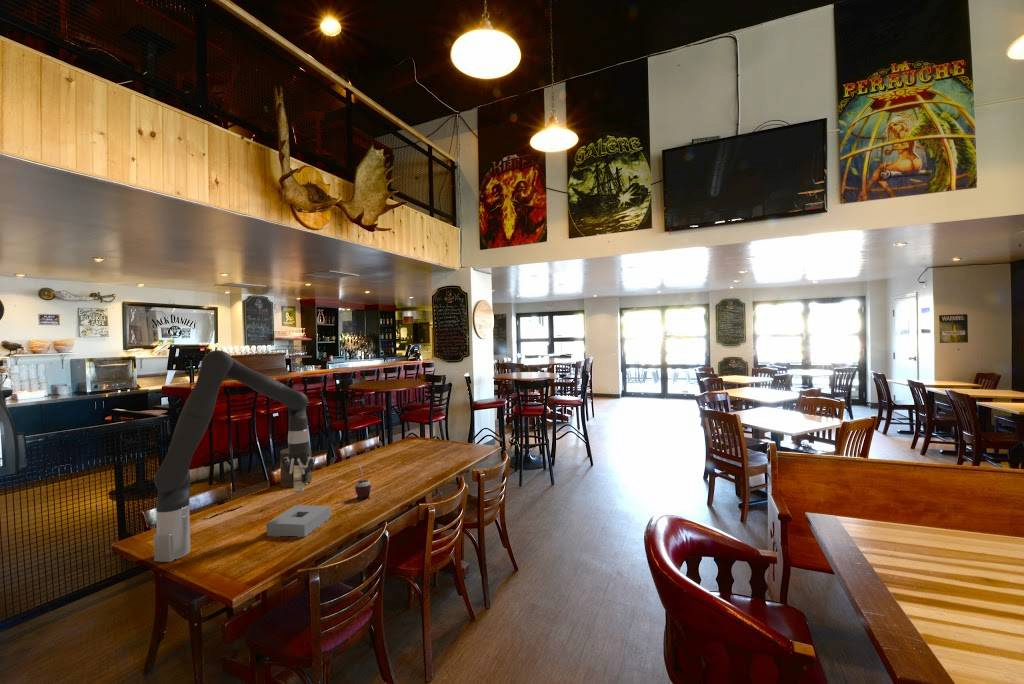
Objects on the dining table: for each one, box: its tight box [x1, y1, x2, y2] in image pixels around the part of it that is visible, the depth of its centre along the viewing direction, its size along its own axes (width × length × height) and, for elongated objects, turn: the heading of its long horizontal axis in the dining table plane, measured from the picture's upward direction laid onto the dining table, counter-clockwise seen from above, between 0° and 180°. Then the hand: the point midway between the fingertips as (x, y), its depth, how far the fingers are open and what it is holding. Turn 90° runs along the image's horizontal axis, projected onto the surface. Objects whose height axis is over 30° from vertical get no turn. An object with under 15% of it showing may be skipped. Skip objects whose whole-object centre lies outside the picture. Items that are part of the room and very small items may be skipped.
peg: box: [293, 465, 306, 494], centre depth 172 cm, size 4×4×11 cm
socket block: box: [266, 504, 331, 538], centre depth 172 cm, size 18×16×5 cm
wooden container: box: [279, 446, 313, 488], centre depth 225 cm, size 15×15×22 cm
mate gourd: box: [354, 464, 372, 501], centre depth 202 cm, size 8×8×15 cm
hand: (299, 482), depth 172 cm, fingers closed on peg, 4 cm apart
